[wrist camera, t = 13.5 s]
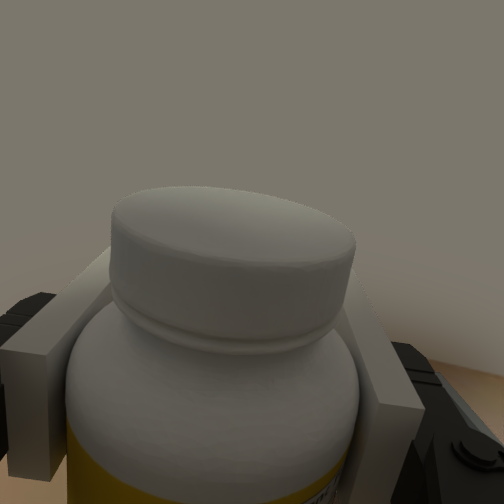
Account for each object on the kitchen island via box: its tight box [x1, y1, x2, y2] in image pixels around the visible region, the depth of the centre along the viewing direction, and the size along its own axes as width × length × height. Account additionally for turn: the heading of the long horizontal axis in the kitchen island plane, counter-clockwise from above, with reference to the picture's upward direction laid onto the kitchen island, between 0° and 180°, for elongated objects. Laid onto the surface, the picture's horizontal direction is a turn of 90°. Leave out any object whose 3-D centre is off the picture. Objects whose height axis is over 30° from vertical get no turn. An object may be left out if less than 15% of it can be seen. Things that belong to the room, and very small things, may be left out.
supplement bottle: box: [65, 186, 360, 504], centre depth 9 cm, size 5×5×10 cm
